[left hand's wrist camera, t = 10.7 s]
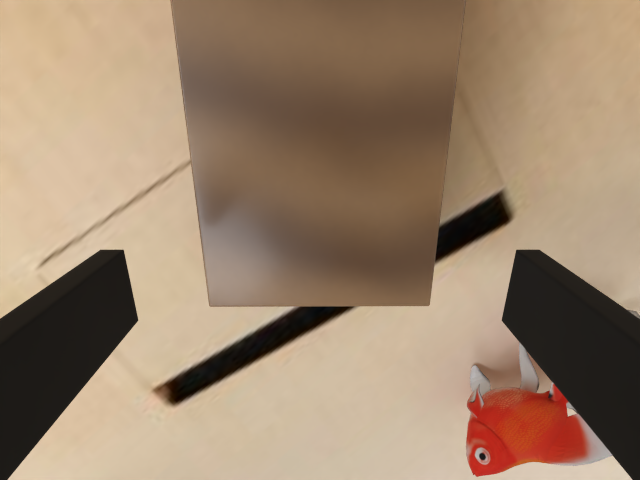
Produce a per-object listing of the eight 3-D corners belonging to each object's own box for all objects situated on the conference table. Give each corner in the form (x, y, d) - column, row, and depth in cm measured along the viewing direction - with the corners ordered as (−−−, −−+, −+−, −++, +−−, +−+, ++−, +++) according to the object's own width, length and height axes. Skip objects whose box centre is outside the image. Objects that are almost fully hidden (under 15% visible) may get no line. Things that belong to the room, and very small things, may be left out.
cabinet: (213, -91, 20) (141, -220, 12) (423, -92, 20) (493, -221, 12) (241, 245, 27) (208, 307, 19) (397, 245, 27) (430, 306, 19)
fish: (407, 371, 25) (553, 514, 17) (554, 242, 29) (726, 315, 21) (428, 434, 32) (541, 557, 24) (545, 322, 35) (674, 399, 28)
